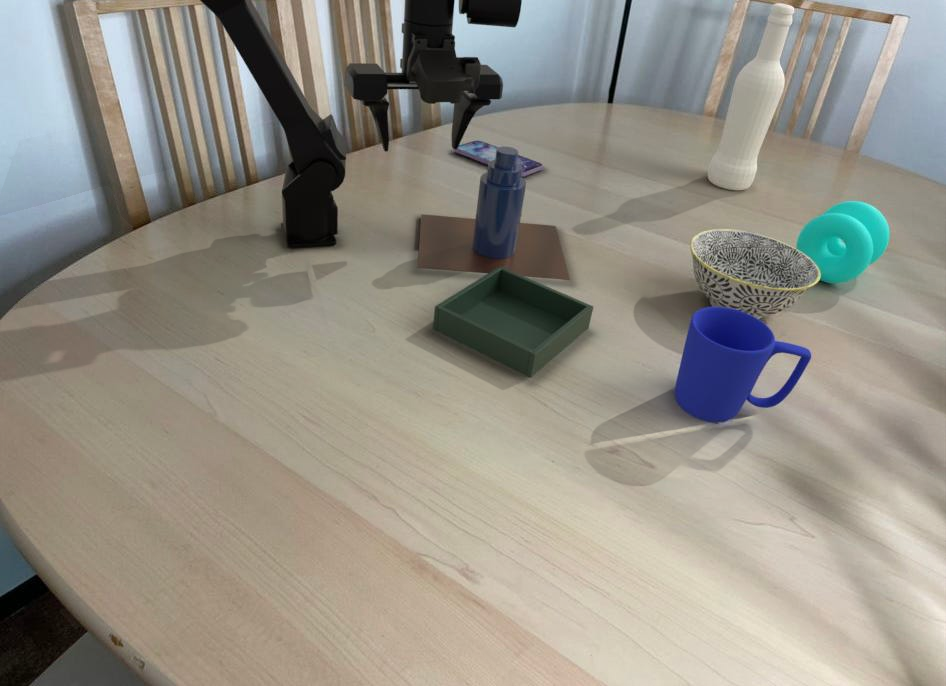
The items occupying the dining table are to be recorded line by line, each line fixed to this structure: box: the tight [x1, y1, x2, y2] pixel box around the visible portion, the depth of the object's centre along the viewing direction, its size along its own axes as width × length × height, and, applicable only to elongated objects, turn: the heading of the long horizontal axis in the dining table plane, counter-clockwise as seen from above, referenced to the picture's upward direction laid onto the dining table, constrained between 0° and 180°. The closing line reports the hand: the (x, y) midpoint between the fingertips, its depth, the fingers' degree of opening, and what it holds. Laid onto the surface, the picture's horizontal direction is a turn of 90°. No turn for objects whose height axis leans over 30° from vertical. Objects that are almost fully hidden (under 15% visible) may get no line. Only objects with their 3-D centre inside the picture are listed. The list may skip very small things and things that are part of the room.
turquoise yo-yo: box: [795, 200, 890, 284], centre depth 106 cm, size 10×10×10 cm
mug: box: [674, 306, 812, 424], centre depth 76 cm, size 8×12×10 cm
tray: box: [432, 266, 594, 378], centre depth 86 cm, size 13×13×4 cm
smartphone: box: [454, 139, 544, 178], centre depth 131 cm, size 7×1×15 cm
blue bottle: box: [472, 146, 527, 259], centre depth 98 cm, size 6×6×14 cm
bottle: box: [707, 2, 795, 192], centre depth 126 cm, size 8×8×30 cm
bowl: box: [689, 228, 821, 320], centre depth 95 cm, size 16×16×8 cm
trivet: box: [417, 213, 571, 281], centre depth 103 cm, size 20×16×1 cm
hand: (420, 149), depth 96 cm, fingers open, 9 cm apart
